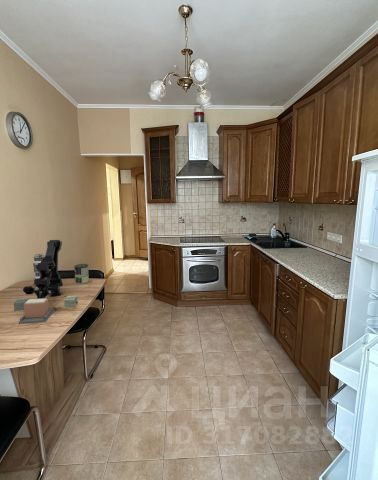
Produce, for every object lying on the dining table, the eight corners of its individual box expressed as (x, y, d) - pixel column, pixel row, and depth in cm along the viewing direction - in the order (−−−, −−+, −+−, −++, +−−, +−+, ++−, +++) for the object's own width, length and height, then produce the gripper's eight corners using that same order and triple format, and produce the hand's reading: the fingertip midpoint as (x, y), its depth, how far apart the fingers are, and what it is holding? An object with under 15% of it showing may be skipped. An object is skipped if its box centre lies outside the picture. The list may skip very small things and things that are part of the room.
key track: (31, 311, 147) (31, 307, 147) (55, 309, 150) (55, 305, 149) (18, 323, 132) (18, 319, 131) (45, 321, 134) (45, 317, 134)
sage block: (67, 303, 159) (67, 296, 158) (77, 303, 160) (77, 295, 159) (64, 307, 153) (64, 299, 152) (74, 307, 154) (74, 299, 153)
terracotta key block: (29, 313, 141) (28, 299, 140) (48, 312, 143) (47, 298, 142) (25, 318, 136) (23, 303, 134) (44, 316, 137) (43, 302, 136)
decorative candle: (51, 284, 196) (48, 253, 192) (44, 288, 187) (42, 255, 183) (39, 284, 195) (36, 253, 192) (32, 288, 186) (29, 255, 183)
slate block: (19, 306, 154) (18, 299, 153) (29, 306, 155) (29, 298, 154) (14, 310, 148) (13, 302, 147) (25, 310, 149) (24, 302, 148)
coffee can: (74, 285, 194) (73, 267, 192) (75, 281, 204) (74, 264, 202) (88, 283, 198) (88, 266, 196) (89, 279, 207) (88, 263, 205)
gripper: (22, 273, 143) (15, 298, 134) (57, 271, 146) (52, 296, 137) (29, 282, 152) (23, 306, 143) (62, 280, 155) (58, 304, 146)
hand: (39, 303), depth 142 cm, fingers closed
